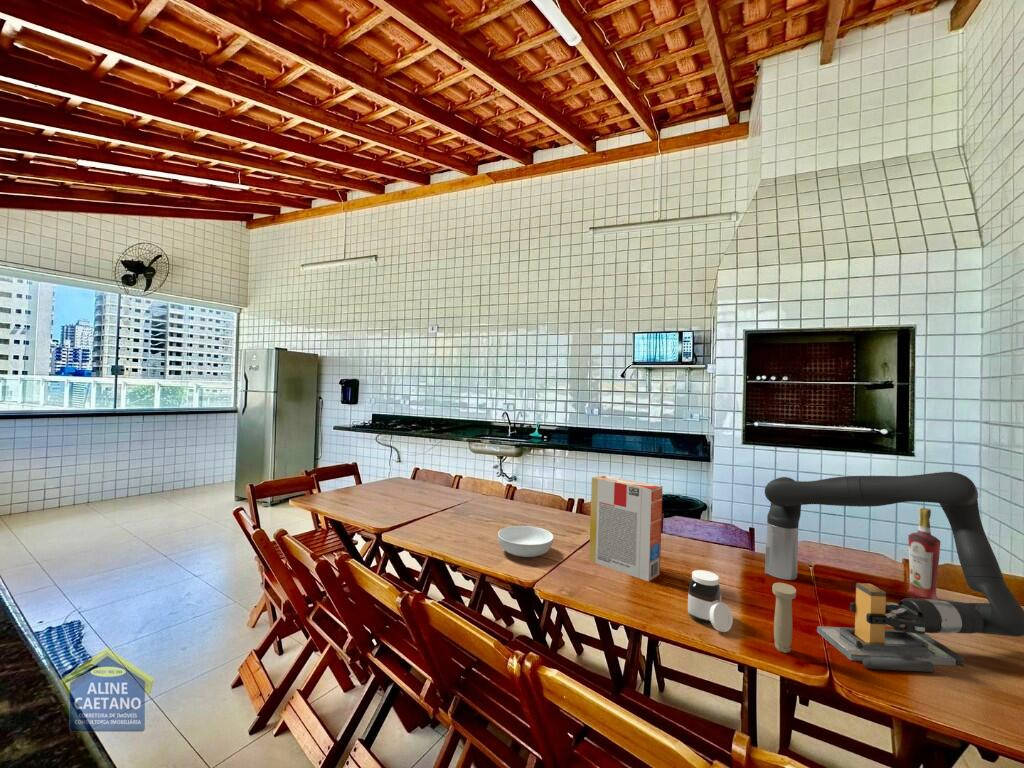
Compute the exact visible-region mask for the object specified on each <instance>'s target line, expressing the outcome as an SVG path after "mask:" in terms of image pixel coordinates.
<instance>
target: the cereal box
mask: <svg viewBox="0 0 1024 768" xmlns="http://www.w3.org/2000/svg"><path fill="white" fill-rule="evenodd" d="M590 491H591V492H590V494H591V495H590V523H589V555H588V556H589V557H588V558H589V559H588V560H589V561H590V562H592V563H594V564H598V565H601V566H603V567H606V568H609V569H611V570H614V571H618V572H620V573H623V574H626V575H628V576H632V577H633V578H634V577H635V578H637V579H640V580H642V581H646V582H649V583H650V582H651V581H653V580H654V579H656V578H657V577H659V576H660V575H661V552H662V551H661V550H662V549H661V548H662V547H661V546H662V519H663V518H662V515H663V514H662V513H663V485H659V484H655V483H650V482H649V483H648V482H645V481H638V480H633V479H627V478H622V477H617V476H613V475H607V474H601V475H597V476H592V477H591V490H590Z"/></svg>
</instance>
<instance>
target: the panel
mask: <svg viewBox="0 0 1024 768" xmlns="http://www.w3.org/2000/svg"><path fill="white" fill-rule="evenodd" d="M816 632H817V634H819V635H820V636H821V637H822V638H823V639H824V640H825V641H827V642H828V643H829V644H830V645H832V646H833V647H834V648H835V649H837V650H838V651H839V652H840V653H841V654H842V655H844V656H845V657H846V658H847V659H849V661H851V662H853V661H854V662H863V660H864V659H885V660H906V661H926V662H931V663H932V664H933V665H934V666H936V665H937V666H951V667H952V666H953V667H954V666H956V665H957V663H956V659H955V658H953V657H951V656H950V655H948V654H947V653H945V652H944V651H942V650H940V649H939V648H937V647H936V646H934V645H933V644H931V643H929V642H928V641H926V640H925V639H923V638H922V637H920V636H918V635H917V634H915V633H909V632H902V631H896V630H894V629H888V628H887V629H886V628H885V643H868V642H865V641H863V640H862V639H861V638H859V637H858V636H857V635H855V627H843V626H840V627H838V626H821V625H820V626H819V625H818V626H817V628H816Z"/></svg>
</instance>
